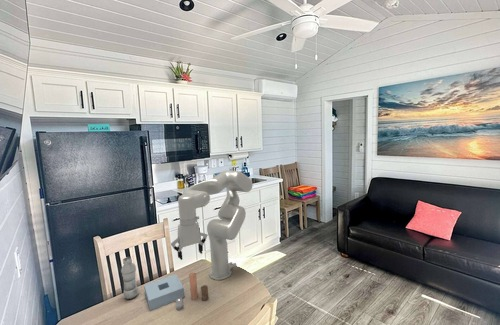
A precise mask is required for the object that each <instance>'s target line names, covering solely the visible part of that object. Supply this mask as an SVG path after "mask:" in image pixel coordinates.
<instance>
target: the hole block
mask: <svg viewBox="0 0 500 325" xmlns="http://www.w3.org/2000/svg"><path fill="white" fill-rule="evenodd" d="M143 286H144V295H145V299H146V302H147V306H148V308H149V311H153V310H155V309H158V308H160V307H163V306H165V305H168V304H170V303H174V302H176V300H175V299H176V298H177V297H183V298H186V297H185V287H184V285H183V284H182V282H181V281H180V279H179V276H178V275H177V274H176V273H175V274H172V275H170V276H166V277H163V278H160V279H158V280H155V281H151V282H147V283H145V284H144V285H143Z"/></svg>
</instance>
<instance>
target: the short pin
mask: <svg viewBox="0 0 500 325" xmlns="http://www.w3.org/2000/svg"><path fill="white" fill-rule="evenodd" d="M175 300H176V301H175V308H176V310H177V311H182V310H183V309H184V299H183V297H177V298H176V299H175Z"/></svg>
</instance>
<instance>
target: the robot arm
mask: <svg viewBox="0 0 500 325" xmlns="http://www.w3.org/2000/svg"><path fill="white" fill-rule="evenodd" d="M253 187H254V186H253V181H252V179H251V178H250V177H249V176H247V175H246V174H245V173H243V172H242V171H238V170H223V171H221V172H219V173H218V174H217V175H215V176H213V177H212V178H210V179H207V180H204V181H201V182H198V183H195V184H192V185H190V186H189V187H187V189H185V190H184V191H183V193H182V194H181V195H180V196H178V198H177V201H178V215H179V224H177V226H178V227H177V238H176V239H174V240H173V241H172V242H171V243H170V246H172V249H174V251H176V252H177V257H178V258H179V259H180V261H182V260H183V251H182V249H183V248H186V247H188V246H192V245H196V244H197V246H198V248H197V249H198V252H199V253H200V254H201V255H202V254H203V251H204V247H203V246H204V244H205V242H206V241H207V240H206V239H207V238H208V240H209V248H210V250H209V251H210V261H211V262H210V264H211V269H210V270H209V272H208V275H209V277H210V279H212V280H215V281H216V280H217V281H222V280H225V279H227V278H229V277H230V276H231V275H232V272H233V271H232V268H235V267H237V263H236V262H234V263H233V262H232V261H231V262H229V253H228V249H229V248H228V241H233V240H235V239H236V238H237V236H238V234H239V232H240V231H241V228H242V225H243V224H244V222H245V219H246V209H245V208H244V206H241V205H239V204H240V197H239V194H238V192H241V193H242V192H243V193H249V192H250V191H252V189H253ZM223 190H226V197H225V199H224V200H223V203H222V205H221V207H220V208H219V210H218V211H217V212H218V213H217V215H218V216H217V217H218V219H217V218H213V219H211V220H209V221H208V223H207V226H206V231H207V232H206V233H204V232H201V229H200V225H199V222H198V221H199V220H200V216H199V215H198V216H197V209H199V208H204V207H206V206H207V205H208V204H210V201H211V196H210V195H217V194H220V192H222V191H223ZM176 244H178V245H176Z"/></svg>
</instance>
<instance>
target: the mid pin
mask: <svg viewBox="0 0 500 325" xmlns="http://www.w3.org/2000/svg"><path fill="white" fill-rule="evenodd" d="M200 293H201V300H202V301H203V302H207V301H209V287H208V285H206V284H205V285H202V286H201V287H200Z"/></svg>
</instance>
